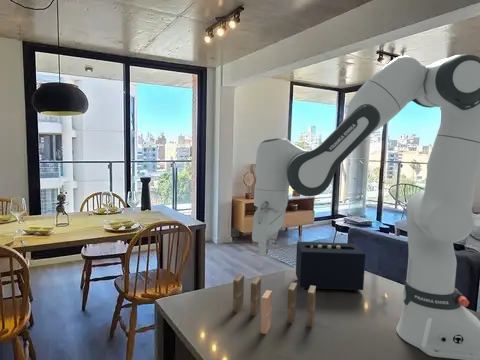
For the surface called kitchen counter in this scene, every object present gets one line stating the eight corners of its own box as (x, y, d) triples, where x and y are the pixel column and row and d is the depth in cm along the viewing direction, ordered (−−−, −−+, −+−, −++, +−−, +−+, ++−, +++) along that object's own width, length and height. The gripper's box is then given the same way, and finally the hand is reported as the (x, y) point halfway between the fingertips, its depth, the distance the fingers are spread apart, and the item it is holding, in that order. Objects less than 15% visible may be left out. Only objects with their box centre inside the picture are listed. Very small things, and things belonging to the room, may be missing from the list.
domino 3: (271, 325, 97) (272, 290, 96) (266, 334, 92) (267, 298, 91) (265, 323, 97) (266, 289, 96) (260, 332, 93) (261, 297, 91)
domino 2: (260, 308, 106) (261, 277, 105) (255, 316, 101) (256, 283, 100) (255, 307, 107) (255, 276, 105) (250, 315, 102) (250, 282, 101)
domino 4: (295, 315, 102) (297, 283, 101) (292, 323, 98) (293, 289, 97) (290, 314, 103) (291, 282, 102) (286, 322, 98) (288, 288, 97)
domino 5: (314, 319, 101) (316, 286, 100) (312, 327, 96) (313, 293, 95) (308, 317, 101) (310, 285, 100) (306, 326, 96) (307, 292, 95)
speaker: (352, 279, 131) (354, 241, 129) (363, 294, 118) (365, 252, 116) (295, 277, 132) (296, 239, 130) (299, 292, 119) (301, 249, 117)
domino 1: (243, 305, 108) (244, 274, 107) (237, 313, 103) (238, 280, 102) (238, 304, 108) (239, 274, 107) (232, 312, 104) (233, 280, 103)
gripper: (272, 207, 80) (269, 264, 82) (290, 195, 99) (287, 241, 101) (246, 204, 82) (244, 260, 84) (268, 193, 101) (266, 239, 103)
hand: (268, 250), depth 93 cm, fingers open, 8 cm apart
